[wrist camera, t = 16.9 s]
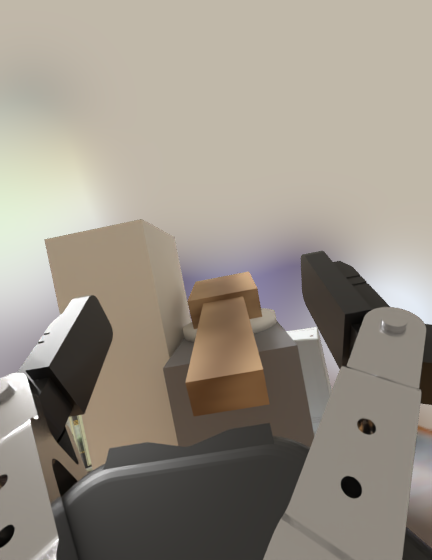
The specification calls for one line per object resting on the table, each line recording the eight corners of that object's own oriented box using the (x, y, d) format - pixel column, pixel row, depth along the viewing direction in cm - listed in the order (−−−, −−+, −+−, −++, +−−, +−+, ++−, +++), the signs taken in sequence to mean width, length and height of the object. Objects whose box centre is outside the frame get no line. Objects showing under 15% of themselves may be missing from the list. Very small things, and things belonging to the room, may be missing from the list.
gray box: (213, 623, 22) (160, 355, 21) (221, 478, 37) (190, 319, 36) (346, 608, 21) (294, 331, 20) (298, 467, 36) (268, 304, 35)
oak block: (168, 429, 15) (154, 378, 14) (200, 303, 38) (195, 281, 37) (299, 408, 15) (291, 355, 14) (252, 293, 37) (248, 271, 36)
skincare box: (337, 417, 45) (320, 325, 45) (340, 440, 39) (321, 336, 39) (284, 417, 48) (268, 331, 48) (279, 439, 42) (261, 341, 42)
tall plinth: (116, 580, 26) (44, 239, 25) (156, 472, 40) (111, 249, 39) (211, 568, 26) (141, 219, 25) (218, 462, 40) (174, 237, 39)
